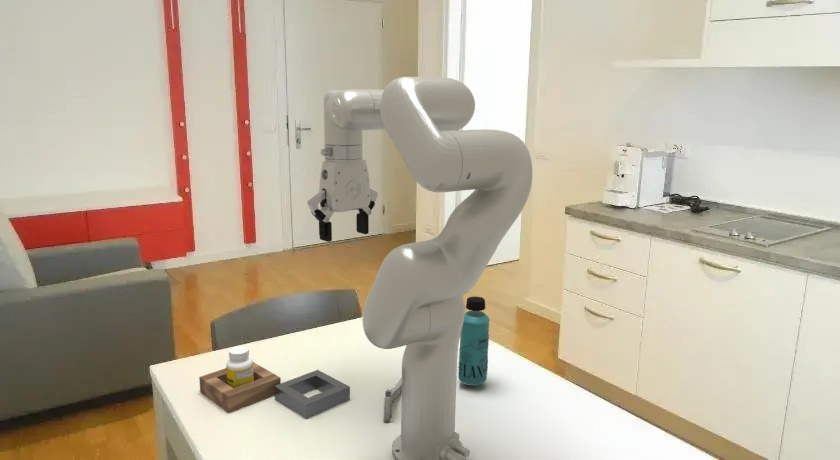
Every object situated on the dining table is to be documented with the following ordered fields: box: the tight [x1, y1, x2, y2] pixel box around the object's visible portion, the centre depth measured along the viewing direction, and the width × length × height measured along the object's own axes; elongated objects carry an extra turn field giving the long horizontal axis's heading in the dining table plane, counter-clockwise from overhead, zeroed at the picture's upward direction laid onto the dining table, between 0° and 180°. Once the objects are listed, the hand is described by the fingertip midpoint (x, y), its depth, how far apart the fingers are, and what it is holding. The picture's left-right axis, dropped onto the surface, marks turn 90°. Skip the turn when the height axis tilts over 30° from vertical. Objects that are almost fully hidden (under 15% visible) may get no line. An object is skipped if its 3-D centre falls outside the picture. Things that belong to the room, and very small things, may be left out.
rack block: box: [198, 361, 282, 414], centre depth 131 cm, size 12×12×4 cm
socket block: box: [274, 369, 351, 420], centre depth 129 cm, size 11×11×3 cm
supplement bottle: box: [225, 345, 254, 388], centre depth 130 cm, size 5×5×10 cm
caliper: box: [383, 377, 402, 423], centre depth 130 cm, size 20×1×6 cm, turn 170°
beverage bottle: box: [457, 296, 491, 386], centre depth 135 cm, size 6×7×20 cm
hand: (344, 236), depth 128 cm, fingers open, 9 cm apart
